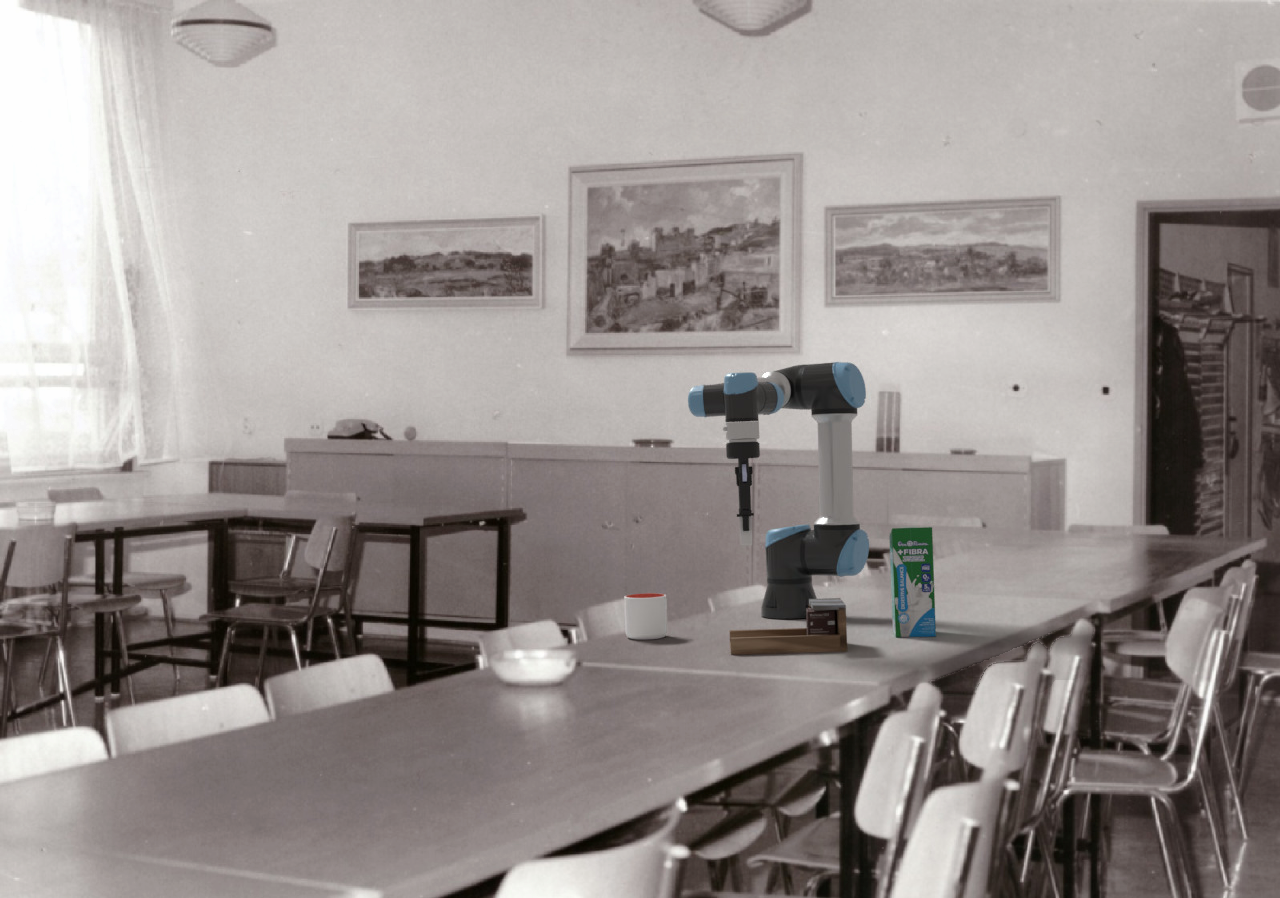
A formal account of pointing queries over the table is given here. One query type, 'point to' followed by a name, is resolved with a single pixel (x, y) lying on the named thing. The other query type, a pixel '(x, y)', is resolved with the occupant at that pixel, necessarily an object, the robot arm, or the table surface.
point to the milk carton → (912, 582)
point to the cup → (646, 616)
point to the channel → (794, 635)
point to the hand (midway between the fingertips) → (746, 545)
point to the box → (820, 622)
